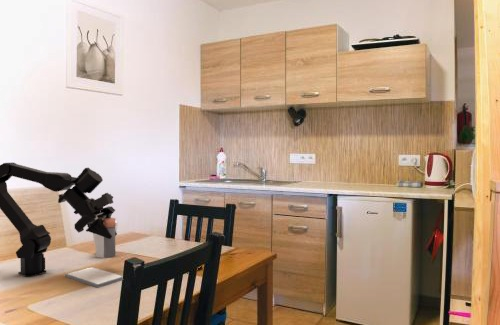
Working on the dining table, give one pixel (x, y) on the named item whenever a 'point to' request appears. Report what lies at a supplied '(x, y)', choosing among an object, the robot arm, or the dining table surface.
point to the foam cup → (100, 243)
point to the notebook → (94, 277)
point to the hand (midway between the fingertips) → (113, 236)
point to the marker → (109, 243)
